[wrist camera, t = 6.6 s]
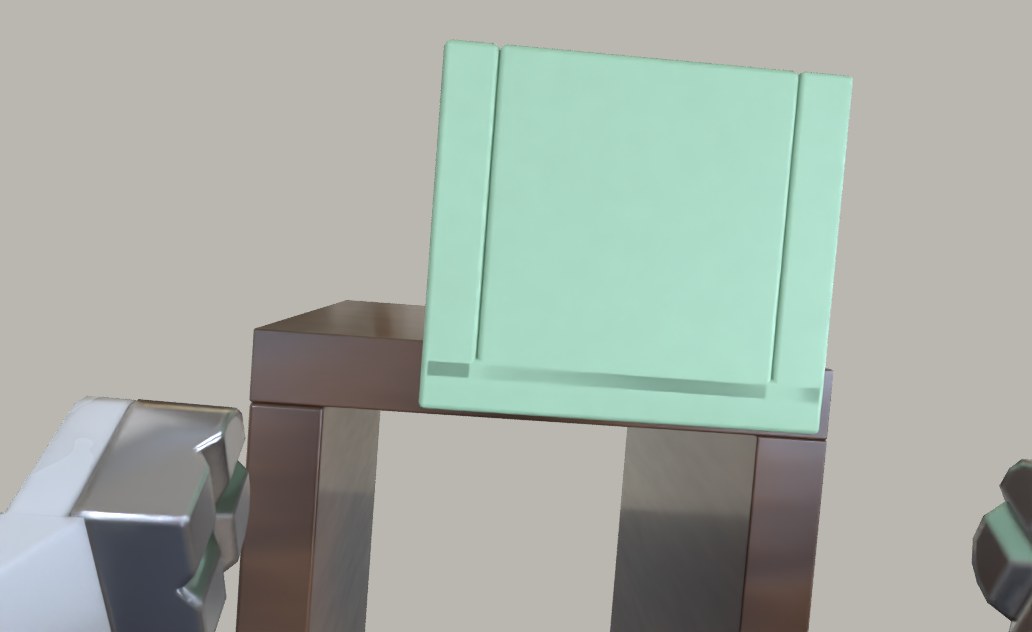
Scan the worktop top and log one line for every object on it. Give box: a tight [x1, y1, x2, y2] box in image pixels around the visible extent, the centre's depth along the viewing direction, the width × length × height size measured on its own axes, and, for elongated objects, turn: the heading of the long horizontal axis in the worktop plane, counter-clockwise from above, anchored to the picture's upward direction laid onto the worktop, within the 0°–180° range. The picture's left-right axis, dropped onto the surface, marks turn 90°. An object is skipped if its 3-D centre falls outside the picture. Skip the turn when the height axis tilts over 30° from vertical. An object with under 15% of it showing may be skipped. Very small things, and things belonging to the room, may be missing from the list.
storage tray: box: [419, 40, 853, 435], centre depth 21 cm, size 4×22×4 cm, turn 3°
